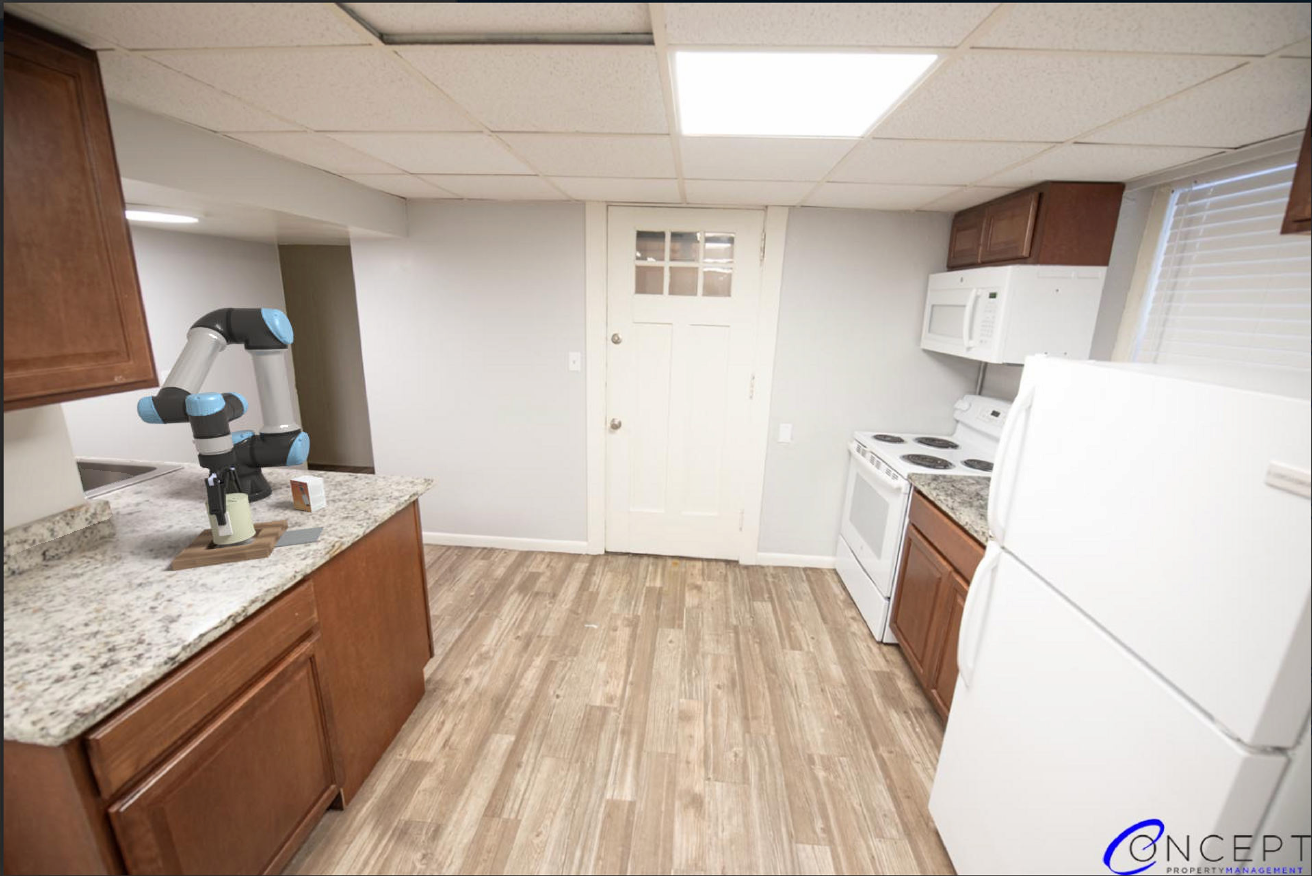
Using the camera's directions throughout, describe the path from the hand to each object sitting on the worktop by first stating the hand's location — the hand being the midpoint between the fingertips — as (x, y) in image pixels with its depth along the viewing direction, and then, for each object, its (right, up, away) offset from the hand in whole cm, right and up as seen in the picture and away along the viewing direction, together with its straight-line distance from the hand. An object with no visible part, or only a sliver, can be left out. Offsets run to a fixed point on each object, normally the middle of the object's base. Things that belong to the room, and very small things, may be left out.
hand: (232, 527), depth 139 cm
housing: (0, -6, +1) cm, 6 cm away
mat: (+14, -4, +8) cm, 16 cm away
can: (0, -3, +1) cm, 3 cm away
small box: (+2, +1, +28) cm, 28 cm away
